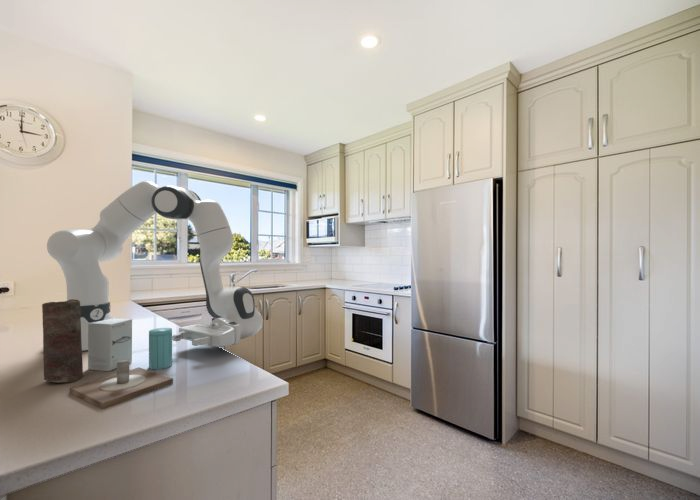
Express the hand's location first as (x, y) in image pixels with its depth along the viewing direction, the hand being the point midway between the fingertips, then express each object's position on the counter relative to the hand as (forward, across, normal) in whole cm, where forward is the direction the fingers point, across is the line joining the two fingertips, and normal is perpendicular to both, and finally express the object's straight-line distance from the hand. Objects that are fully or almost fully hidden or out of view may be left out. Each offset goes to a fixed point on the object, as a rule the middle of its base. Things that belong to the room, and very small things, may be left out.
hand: (183, 340), depth 99 cm
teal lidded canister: (+7, 0, +5) cm, 9 cm away
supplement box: (+14, -12, +6) cm, 19 cm away
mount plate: (+20, +7, +5) cm, 22 cm away
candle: (+25, -11, +6) cm, 28 cm away
